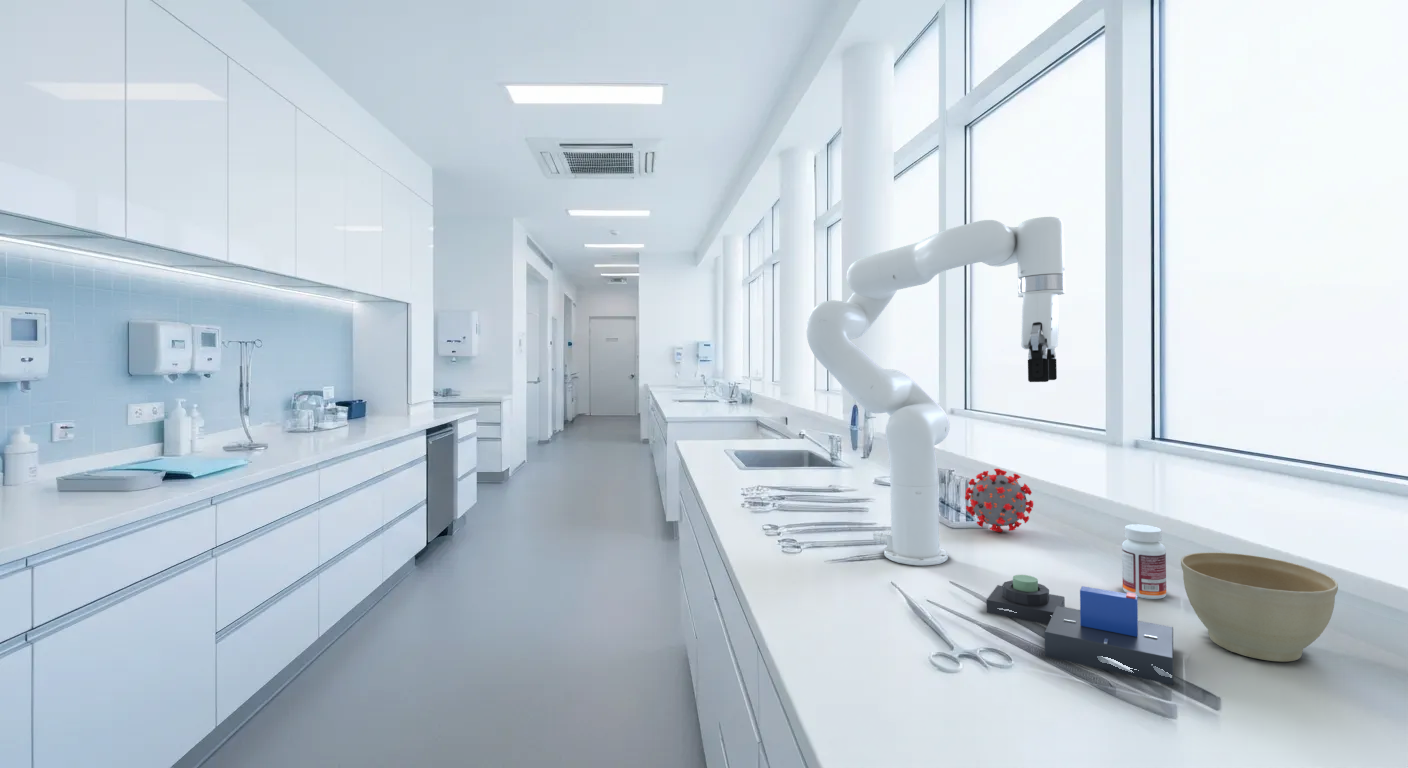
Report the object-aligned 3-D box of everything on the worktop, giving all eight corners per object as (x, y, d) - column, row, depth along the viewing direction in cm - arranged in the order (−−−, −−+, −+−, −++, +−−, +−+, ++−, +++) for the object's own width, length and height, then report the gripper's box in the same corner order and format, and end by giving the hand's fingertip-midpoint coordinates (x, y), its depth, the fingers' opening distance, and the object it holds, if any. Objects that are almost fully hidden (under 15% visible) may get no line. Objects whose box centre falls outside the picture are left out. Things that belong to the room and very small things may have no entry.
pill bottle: (1172, 594, 106) (1172, 528, 105) (1157, 603, 102) (1156, 534, 102) (1131, 584, 111) (1131, 521, 111) (1115, 592, 107) (1114, 527, 107)
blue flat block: (1080, 626, 86) (1079, 588, 86) (1082, 621, 88) (1081, 584, 88) (1137, 637, 82) (1137, 597, 82) (1138, 631, 84) (1137, 593, 84)
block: (986, 613, 100) (986, 588, 100) (997, 597, 107) (997, 574, 107) (1057, 627, 94) (1057, 601, 94) (1064, 610, 101) (1064, 585, 101)
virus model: (974, 540, 141) (973, 474, 141) (958, 523, 156) (957, 463, 155) (1043, 541, 139) (1042, 474, 138) (1020, 524, 153) (1019, 463, 153)
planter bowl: (1216, 669, 80) (1216, 585, 80) (1161, 619, 96) (1160, 549, 96) (1372, 682, 76) (1372, 594, 76) (1288, 628, 92) (1287, 555, 91)
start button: (1010, 590, 100) (1010, 579, 100) (1015, 583, 103) (1015, 573, 103) (1035, 594, 98) (1035, 583, 98) (1039, 587, 101) (1039, 577, 101)
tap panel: (1044, 656, 85) (1044, 630, 85) (1056, 628, 94) (1056, 604, 94) (1173, 686, 77) (1172, 656, 77) (1173, 652, 85) (1172, 625, 85)
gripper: (1026, 293, 123) (1028, 379, 123) (1009, 285, 109) (1011, 383, 110) (1070, 289, 119) (1072, 379, 119) (1057, 280, 105) (1059, 382, 105)
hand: (1042, 380), depth 114 cm, fingers open, 9 cm apart
